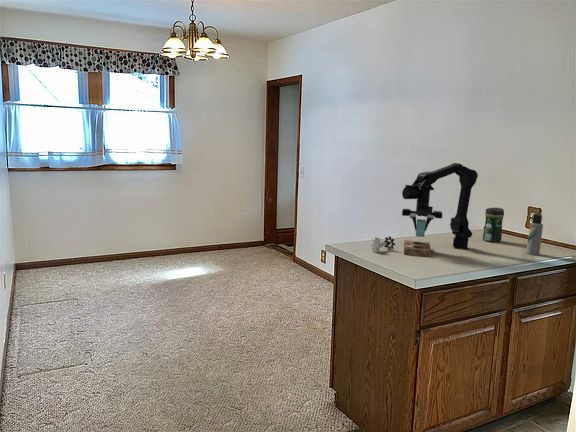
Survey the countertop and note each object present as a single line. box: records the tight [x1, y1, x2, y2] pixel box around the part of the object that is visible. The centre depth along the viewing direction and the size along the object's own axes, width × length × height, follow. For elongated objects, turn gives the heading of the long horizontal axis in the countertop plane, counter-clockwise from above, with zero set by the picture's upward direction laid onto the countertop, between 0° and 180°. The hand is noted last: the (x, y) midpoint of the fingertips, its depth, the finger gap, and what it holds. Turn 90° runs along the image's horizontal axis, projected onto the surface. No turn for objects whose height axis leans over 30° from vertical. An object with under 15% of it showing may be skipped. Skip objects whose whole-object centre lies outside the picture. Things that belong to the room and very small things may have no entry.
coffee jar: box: [482, 207, 505, 243], centre depth 262 cm, size 10×8×19 cm
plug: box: [415, 218, 426, 238], centre depth 233 cm, size 4×4×8 cm
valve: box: [371, 235, 396, 253], centre depth 228 cm, size 7×7×12 cm
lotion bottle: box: [526, 213, 544, 256], centre depth 235 cm, size 6×6×20 cm
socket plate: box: [403, 239, 432, 258], centre depth 231 cm, size 12×18×3 cm, turn 166°
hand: (420, 230), depth 233 cm, fingers closed on plug, 4 cm apart
